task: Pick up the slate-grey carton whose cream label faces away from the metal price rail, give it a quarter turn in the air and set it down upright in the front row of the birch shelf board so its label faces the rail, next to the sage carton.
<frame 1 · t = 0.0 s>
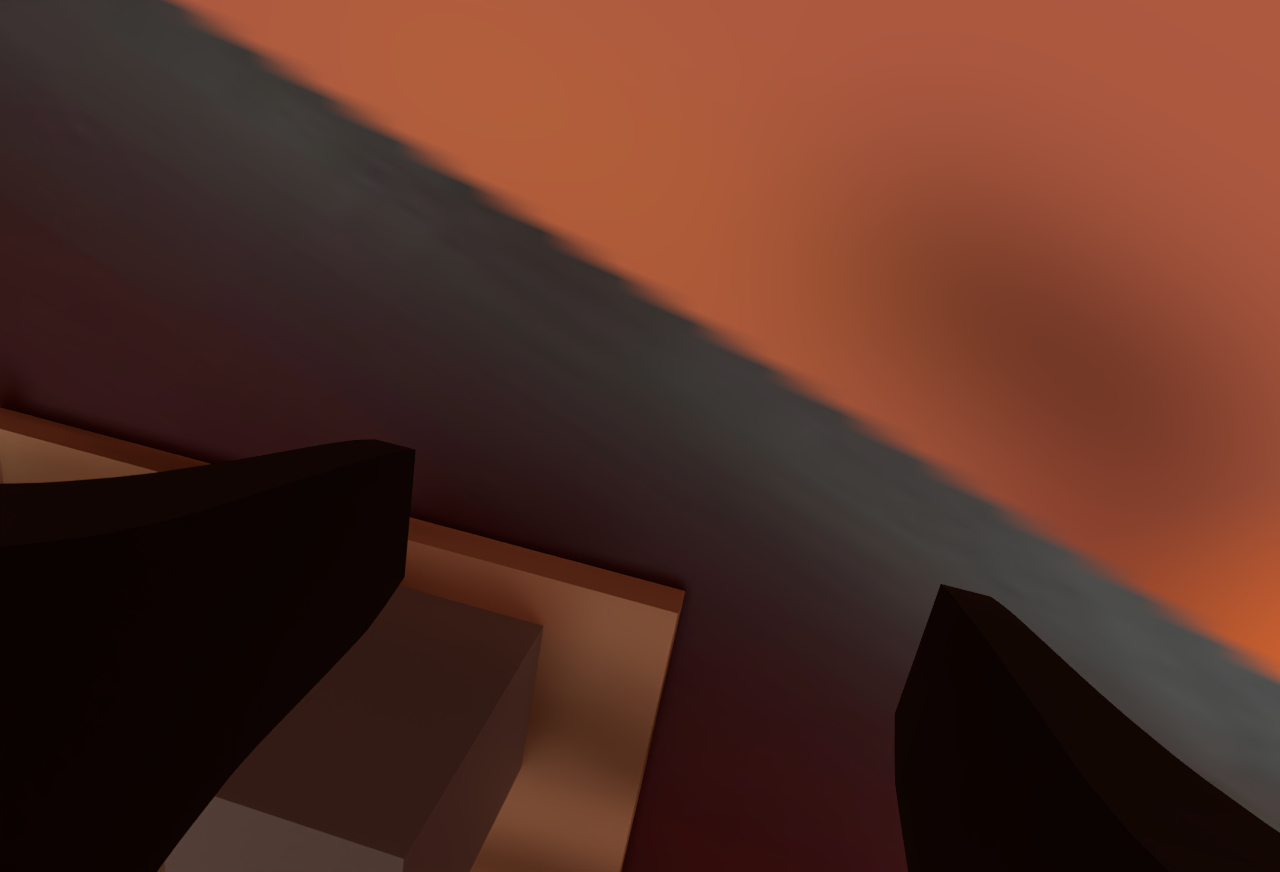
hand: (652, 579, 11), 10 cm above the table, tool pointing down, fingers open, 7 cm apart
shelf board: (310, 748, 27), on the table
slate carton: (449, 675, 23), point 1 cm above the table, touching shelf board
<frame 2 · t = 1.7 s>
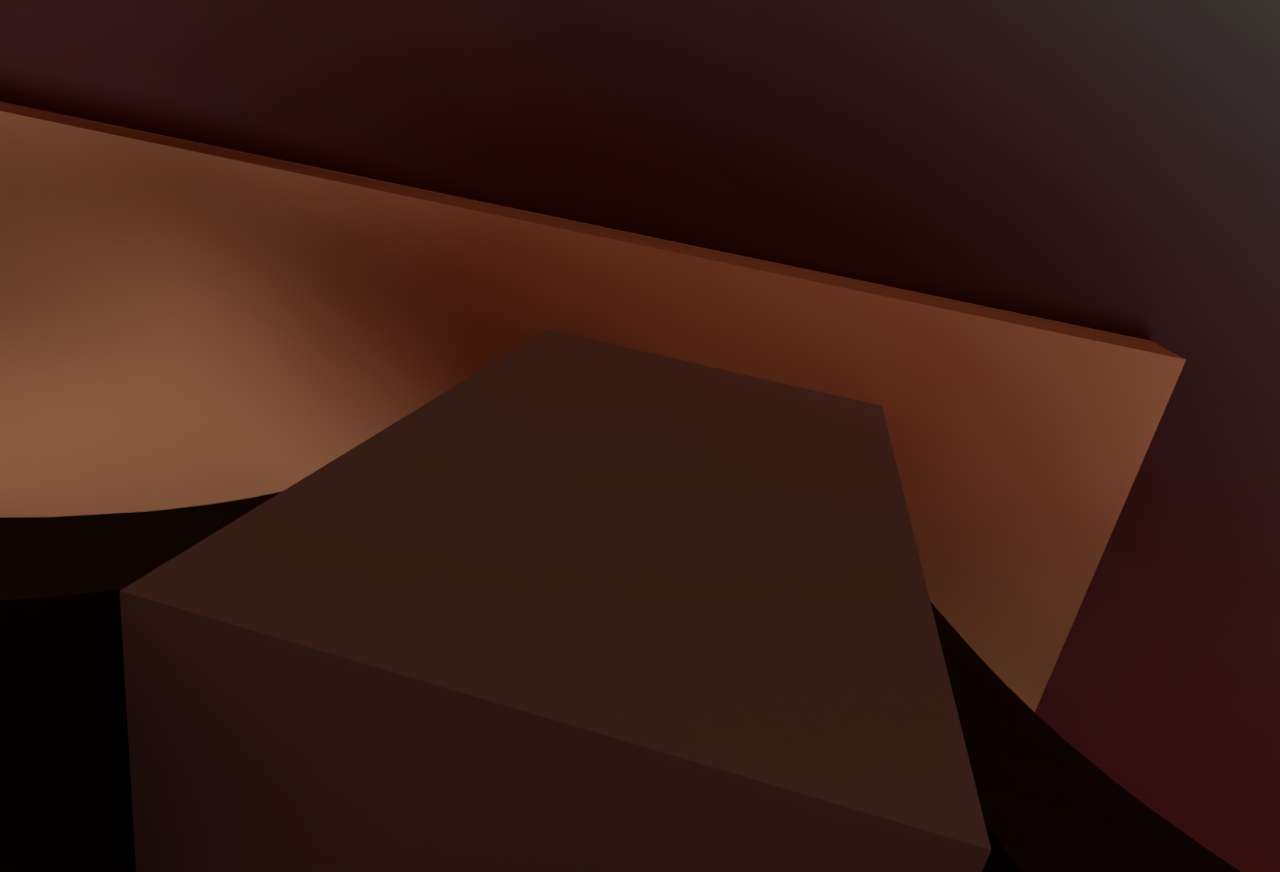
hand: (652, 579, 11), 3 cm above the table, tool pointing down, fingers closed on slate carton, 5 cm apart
shelf board: (395, 673, 16), on the table
slate carton: (677, 518, 13), point 1 cm above the table, touching gripper, shelf board
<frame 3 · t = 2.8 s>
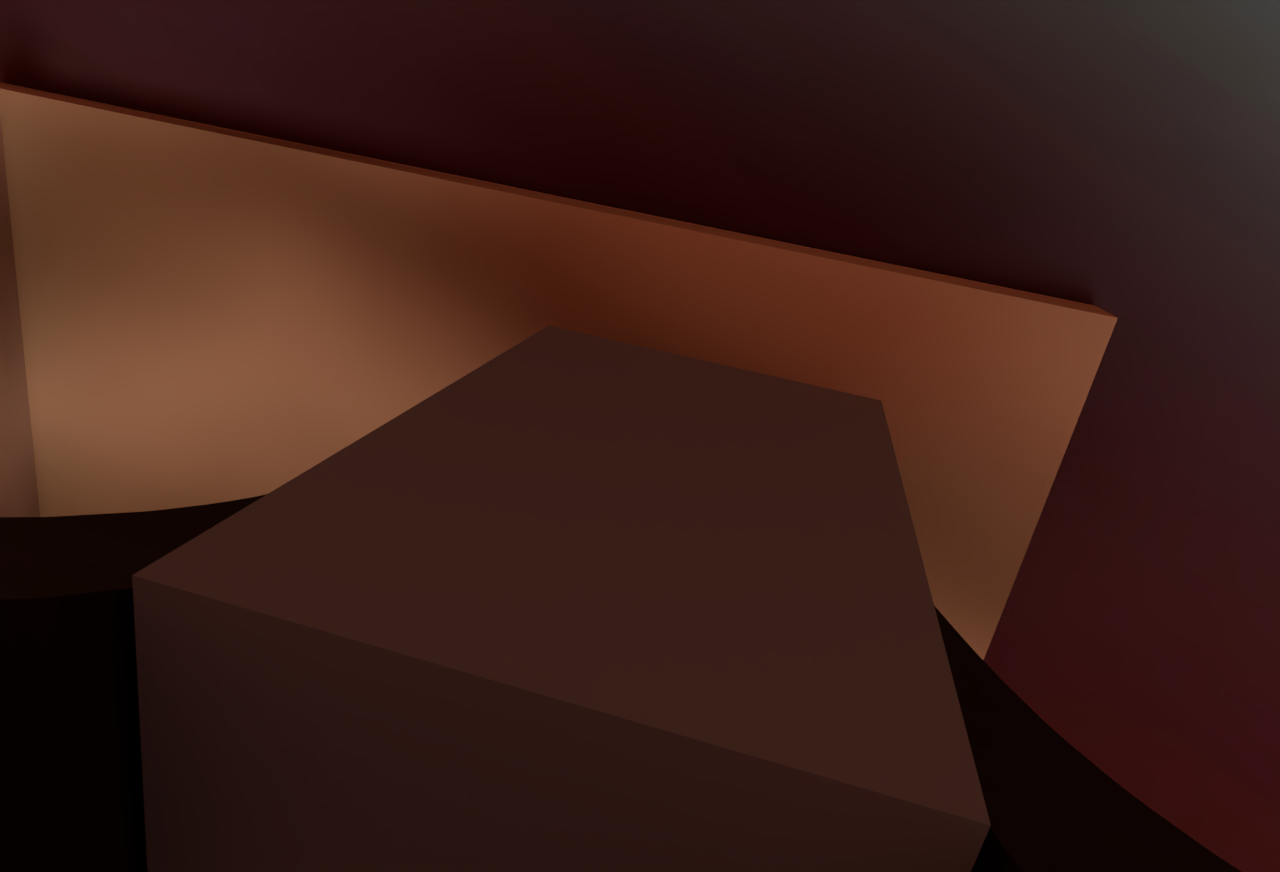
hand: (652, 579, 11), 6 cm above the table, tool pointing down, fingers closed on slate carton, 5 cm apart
shelf board: (450, 604, 19), on the table
slate carton: (678, 513, 13), point 4 cm above the table, touching gripper
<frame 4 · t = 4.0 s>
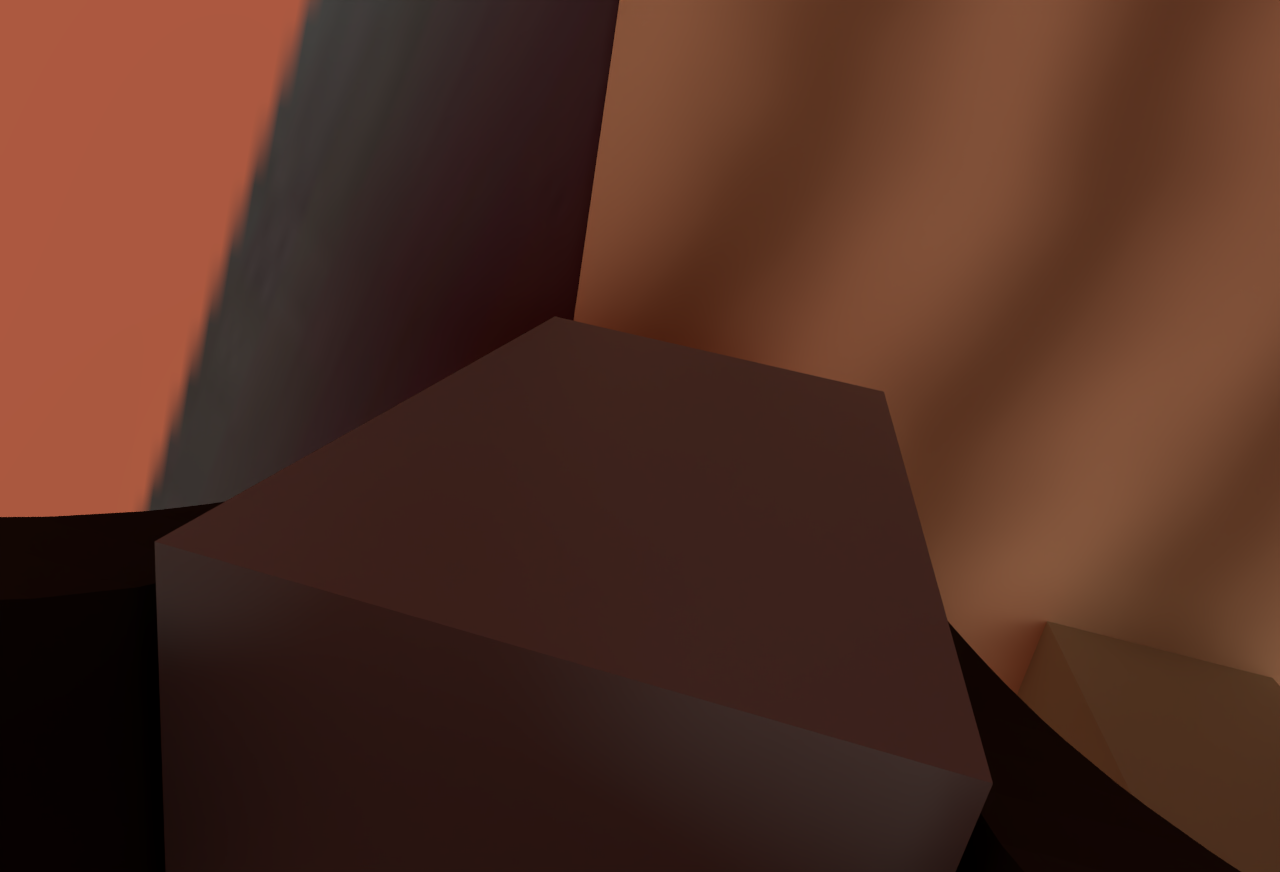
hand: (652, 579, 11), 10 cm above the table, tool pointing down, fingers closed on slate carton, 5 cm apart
shelf board: (943, 477, 20), on the table
sage carton: (1117, 734, 20), point 1 cm above the table, touching shelf board
slate carton: (681, 503, 13), point 8 cm above the table, touching gripper
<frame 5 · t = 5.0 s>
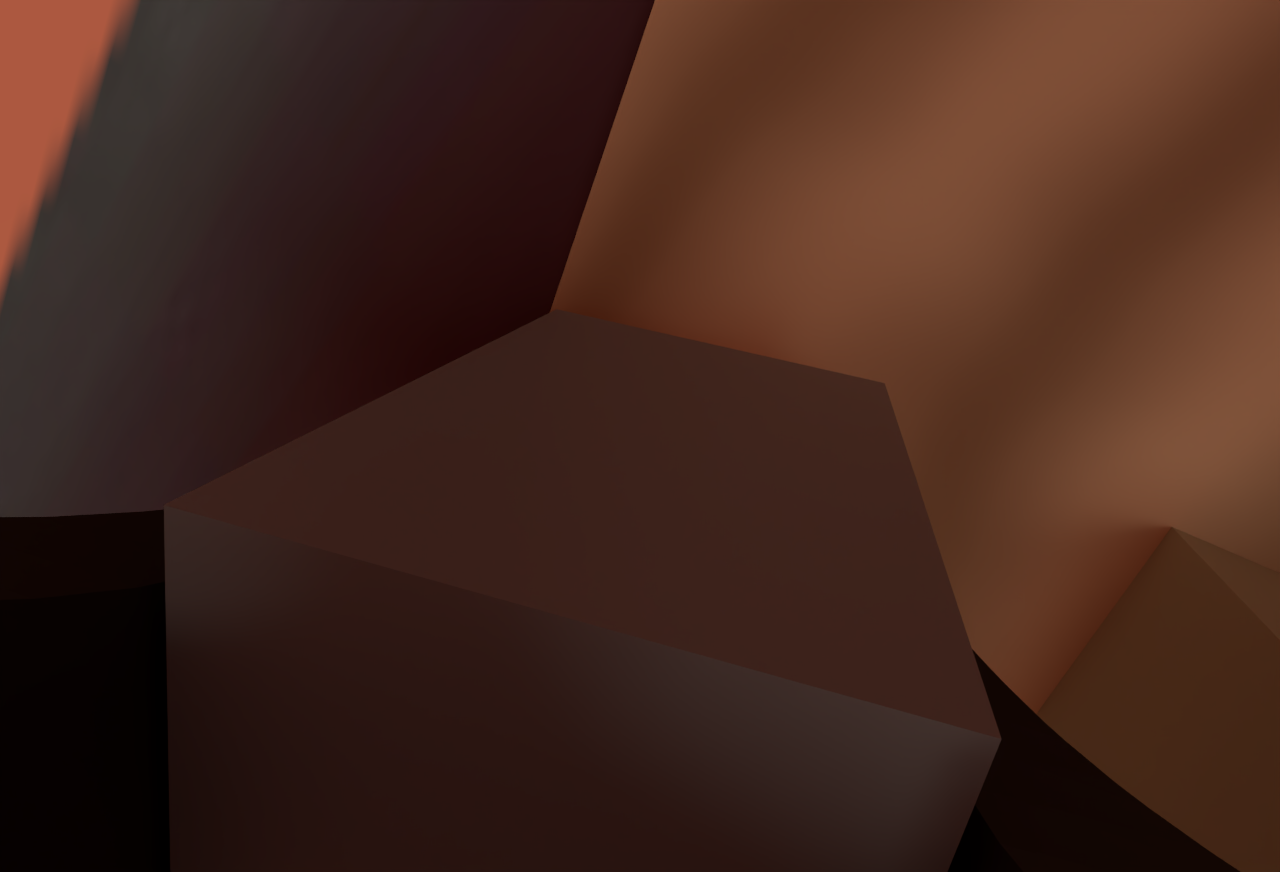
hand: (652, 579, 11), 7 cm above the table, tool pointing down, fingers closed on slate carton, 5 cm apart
shelf board: (1074, 329, 16), on the table
sage carton: (1218, 683, 16), point 1 cm above the table, touching shelf board
slate carton: (683, 496, 13), point 5 cm above the table, touching gripper
when the fingers open (4 cm above the table, at t = 6.0 s): slate carton stays where it is, resting on shelf board.
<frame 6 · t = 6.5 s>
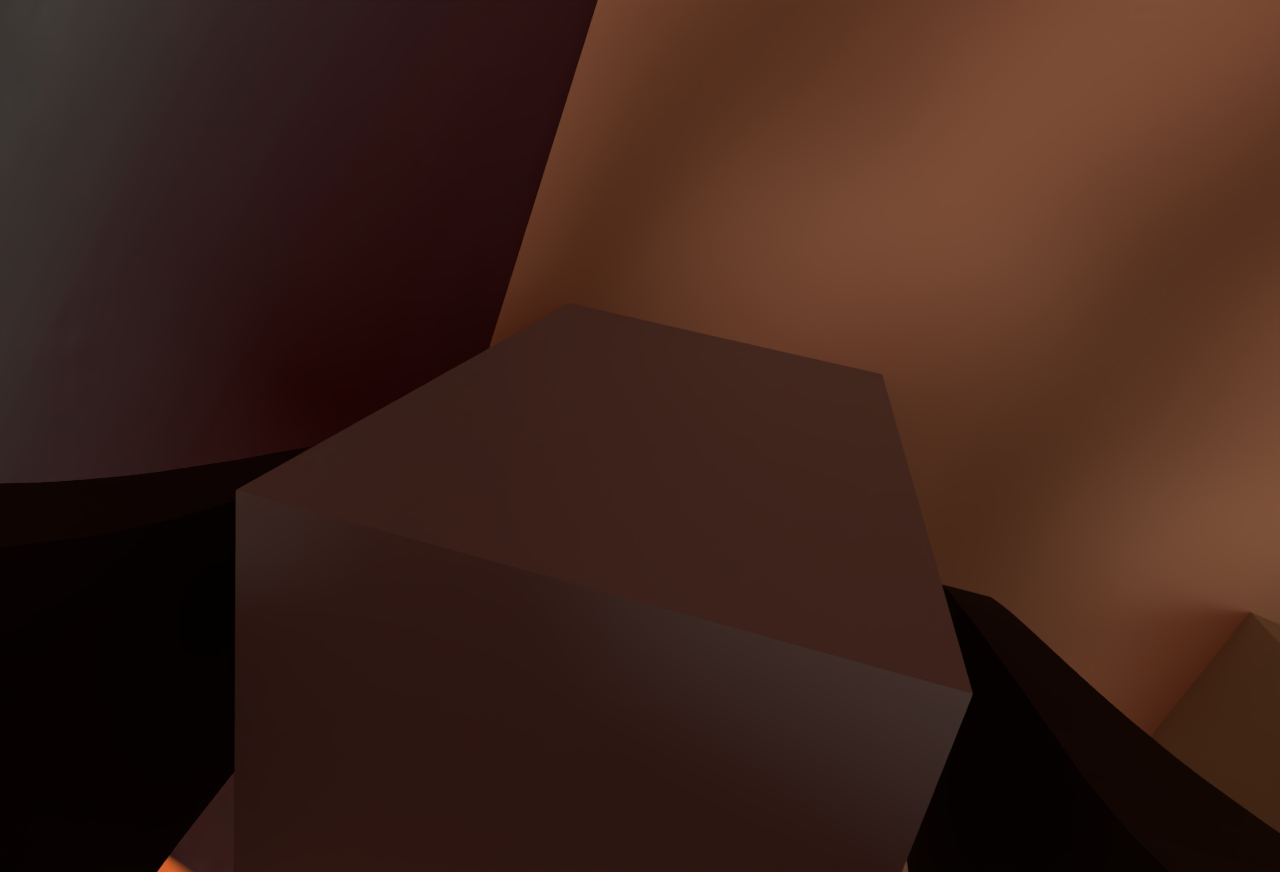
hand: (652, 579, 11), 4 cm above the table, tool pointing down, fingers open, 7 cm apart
shelf board: (1128, 368, 13), on the table
slate carton: (689, 481, 14), point 1 cm above the table, touching shelf board
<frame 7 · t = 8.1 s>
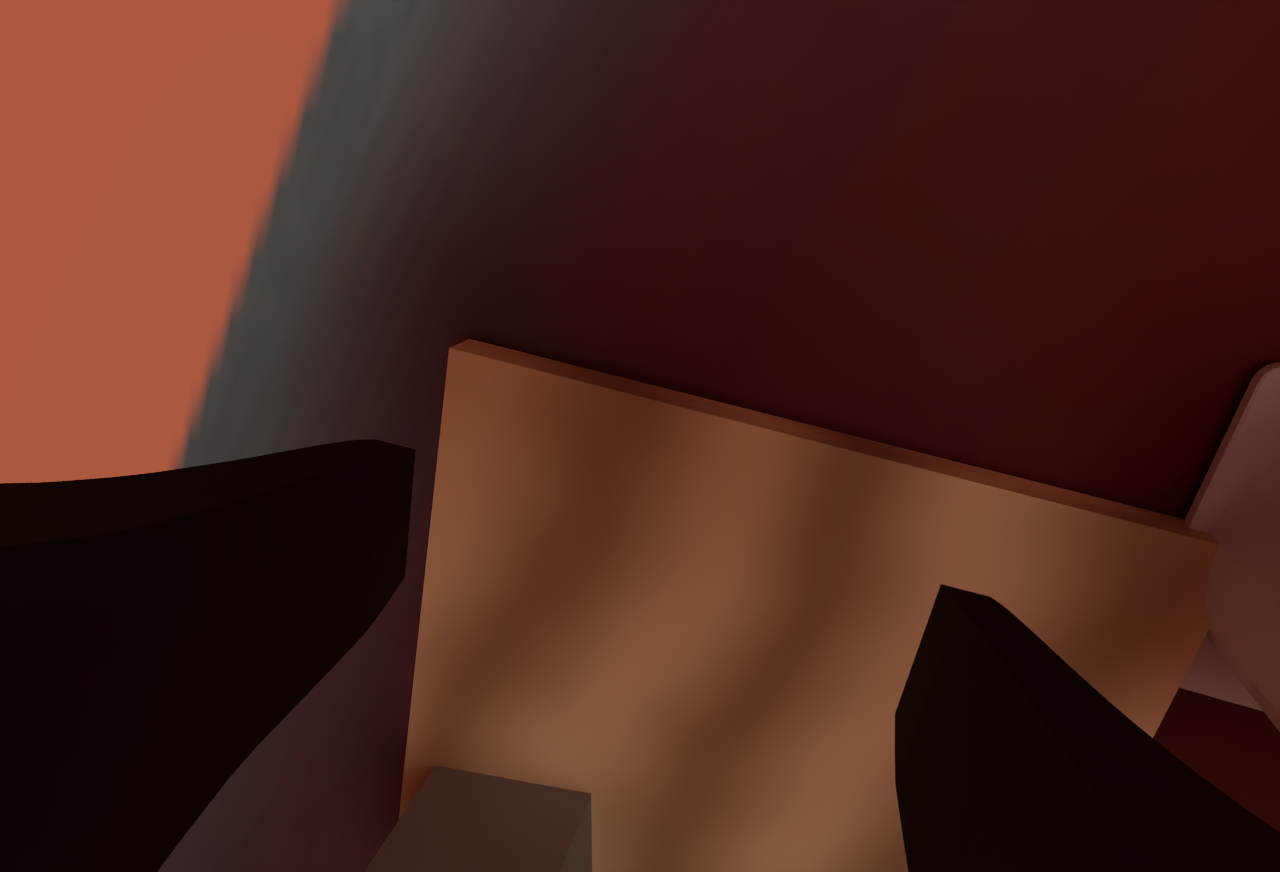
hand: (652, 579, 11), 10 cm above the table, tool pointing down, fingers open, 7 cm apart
shelf board: (722, 767, 24), on the table
slate carton: (515, 844, 25), point 1 cm above the table, touching shelf board
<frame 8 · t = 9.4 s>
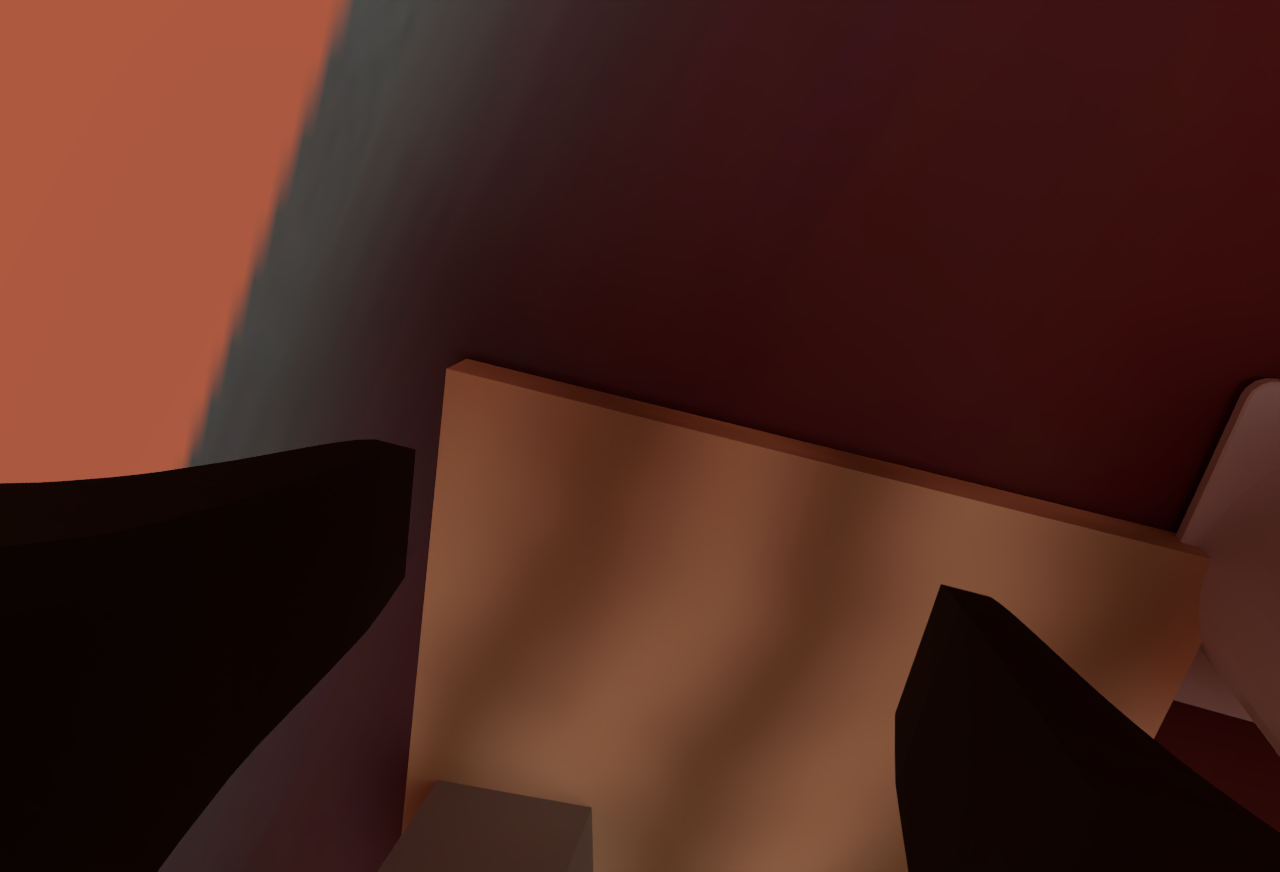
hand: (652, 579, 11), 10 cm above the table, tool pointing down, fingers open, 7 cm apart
shelf board: (722, 780, 24), on the table
slate carton: (517, 857, 26), point 1 cm above the table, touching shelf board
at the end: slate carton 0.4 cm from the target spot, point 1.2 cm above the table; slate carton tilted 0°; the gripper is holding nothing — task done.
